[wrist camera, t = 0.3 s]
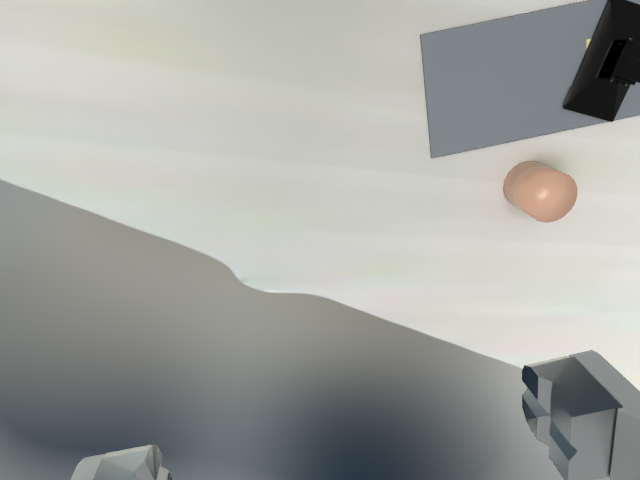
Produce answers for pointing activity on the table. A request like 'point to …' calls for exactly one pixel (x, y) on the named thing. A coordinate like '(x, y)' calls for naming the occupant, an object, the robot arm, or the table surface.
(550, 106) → the mat
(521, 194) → the peach rounded cylinder
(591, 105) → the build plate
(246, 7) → the table surface
